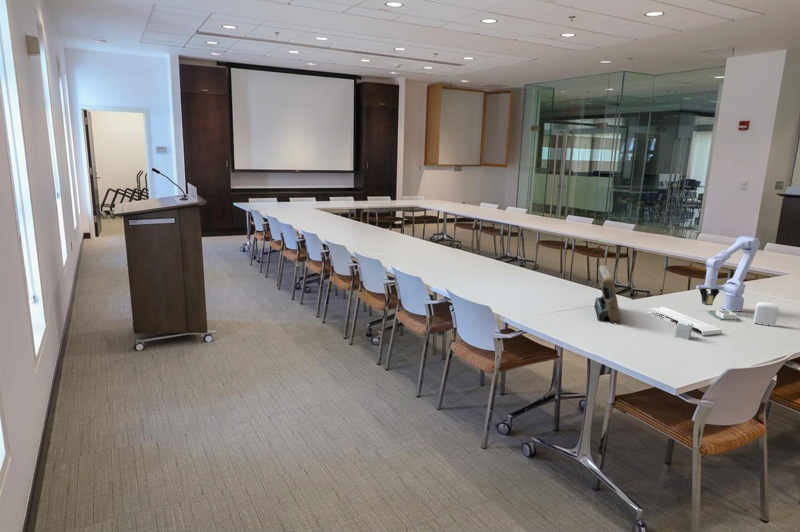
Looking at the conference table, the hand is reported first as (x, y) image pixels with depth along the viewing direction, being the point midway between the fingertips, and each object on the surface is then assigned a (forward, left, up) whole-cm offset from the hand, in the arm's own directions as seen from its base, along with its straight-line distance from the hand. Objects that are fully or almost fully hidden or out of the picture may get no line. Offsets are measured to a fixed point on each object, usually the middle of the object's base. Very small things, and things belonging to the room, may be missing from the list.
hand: (707, 301), depth 303 cm
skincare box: (+37, +47, -6) cm, 60 cm away
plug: (0, 0, -2) cm, 2 cm away
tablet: (+63, +15, -6) cm, 65 cm away
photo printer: (-20, +21, -6) cm, 30 cm away
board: (-4, +11, -6) cm, 13 cm away
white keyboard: (+27, +25, -7) cm, 37 cm away
